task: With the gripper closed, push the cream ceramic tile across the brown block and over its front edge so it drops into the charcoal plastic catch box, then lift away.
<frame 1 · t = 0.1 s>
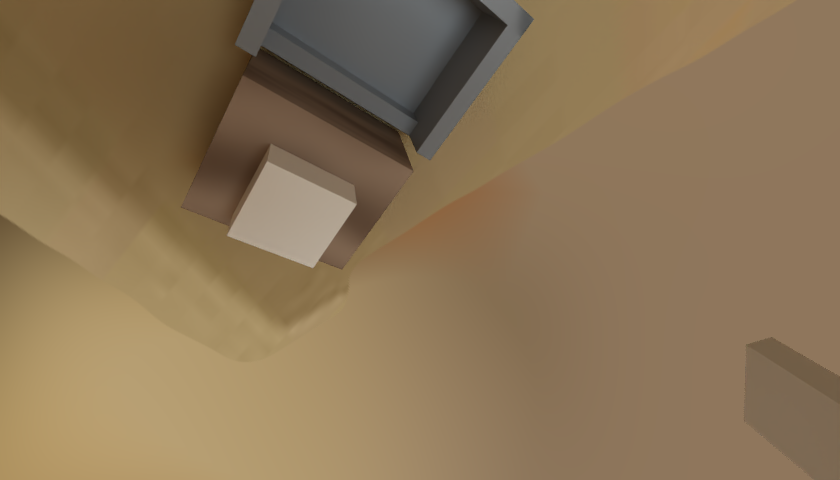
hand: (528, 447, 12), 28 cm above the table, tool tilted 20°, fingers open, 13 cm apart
brown block: (303, 146, 34), on the table
cream tile: (294, 199, 29), point 7 cm above the table, touching brown block
catch box: (379, 14, 30), on the table
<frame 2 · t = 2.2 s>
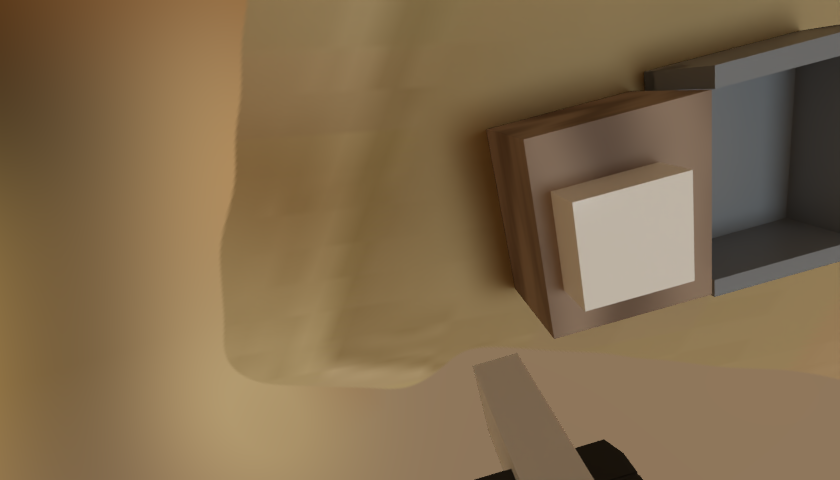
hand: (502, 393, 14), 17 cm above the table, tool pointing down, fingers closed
brown block: (569, 196, 30), on the table
cream tile: (609, 228, 23), point 7 cm above the table, touching brown block
catch box: (721, 154, 30), on the table
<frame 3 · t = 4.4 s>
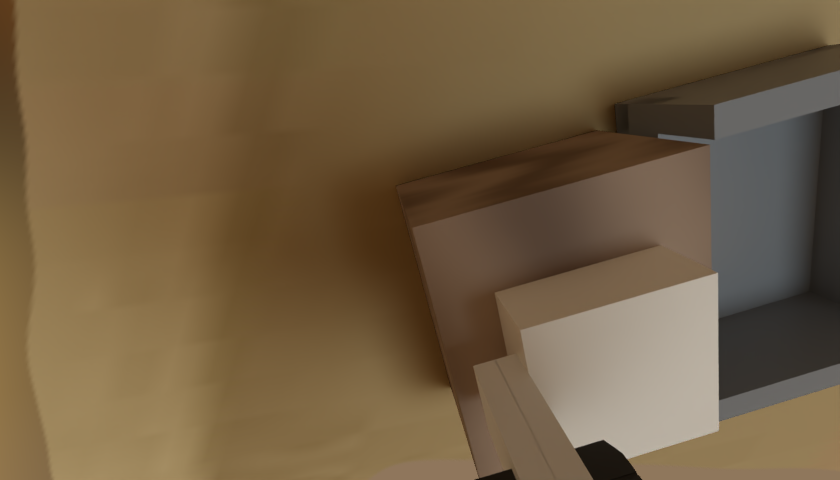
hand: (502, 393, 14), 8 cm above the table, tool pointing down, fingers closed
brown block: (518, 269, 22), on the table
cream tile: (587, 341, 15), point 7 cm above the table, touching gripper
catch box: (723, 211, 22), on the table
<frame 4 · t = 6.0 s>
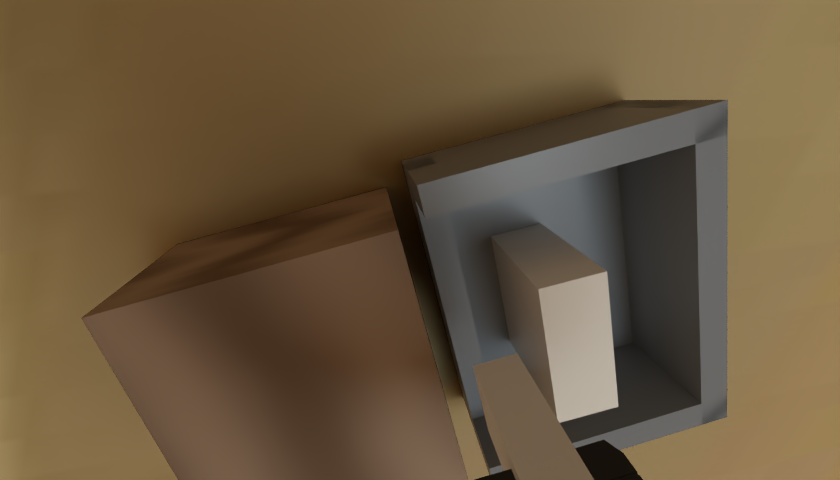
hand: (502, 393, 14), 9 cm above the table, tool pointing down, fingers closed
brown block: (323, 324, 22), on the table
cream tile: (521, 320, 18), point 4 cm above the table, tilted 89°, touching catch box
catch box: (536, 263, 22), on the table
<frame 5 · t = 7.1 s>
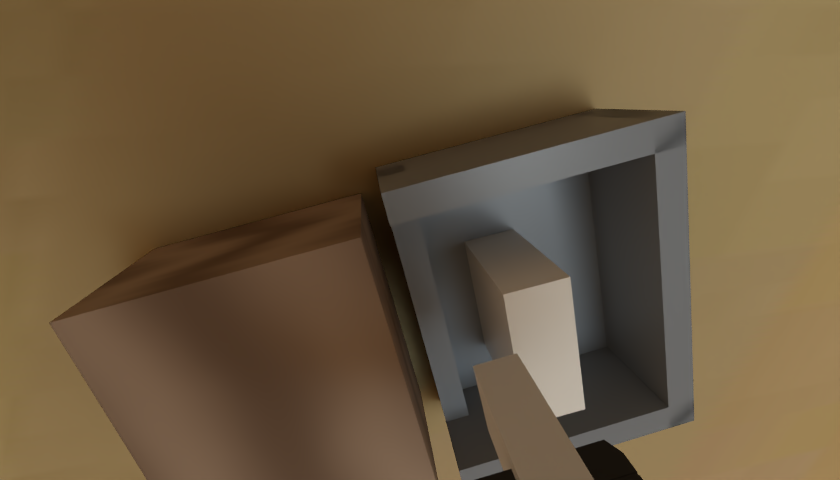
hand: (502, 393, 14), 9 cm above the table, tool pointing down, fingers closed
brown block: (300, 327, 22), on the table
cream tile: (492, 324, 19), point 4 cm above the table, tilted 90°, touching catch box
catch box: (511, 268, 22), on the table
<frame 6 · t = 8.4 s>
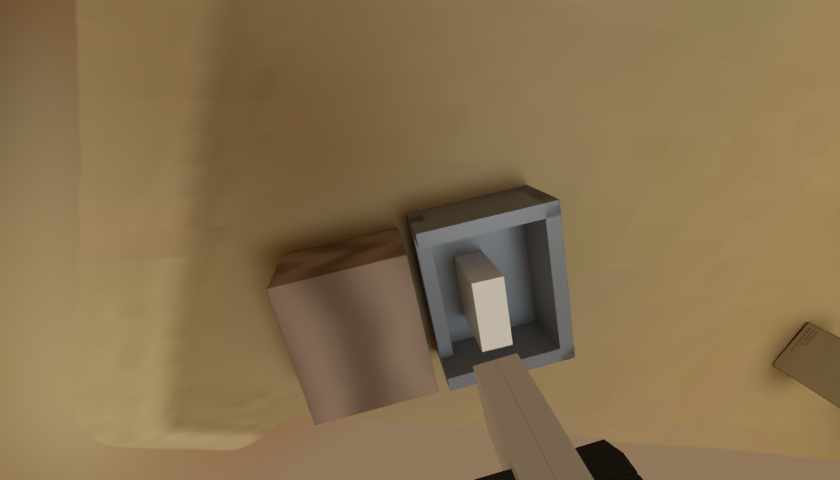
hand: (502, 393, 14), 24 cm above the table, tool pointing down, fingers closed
skincare box: (799, 349, 48), on the table
brown block: (358, 303, 38), on the table
cream tile: (467, 301, 35), point 4 cm above the table, tilted 90°, touching catch box
catch box: (480, 272, 39), on the table
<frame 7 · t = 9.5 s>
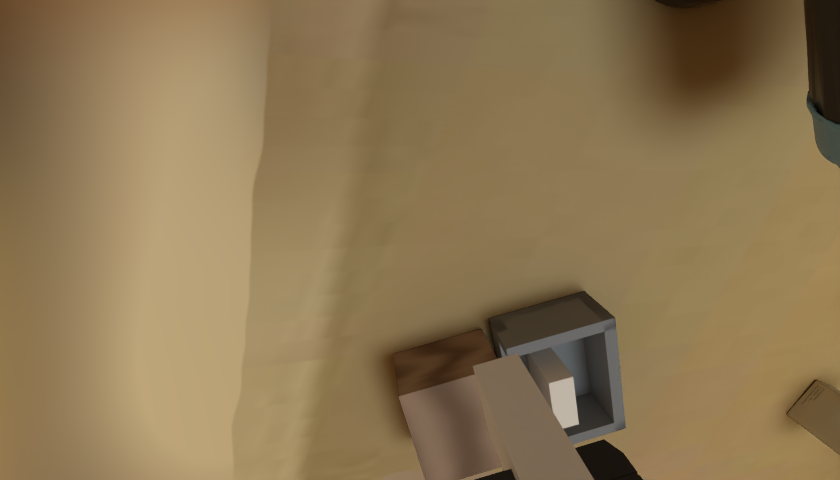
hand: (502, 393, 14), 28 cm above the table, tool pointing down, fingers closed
skincare box: (809, 401, 56), on the table
brown block: (449, 385, 48), on the table
cream tile: (540, 388, 45), point 4 cm above the table, tilted 90°, touching catch box
catch box: (545, 357, 48), on the table
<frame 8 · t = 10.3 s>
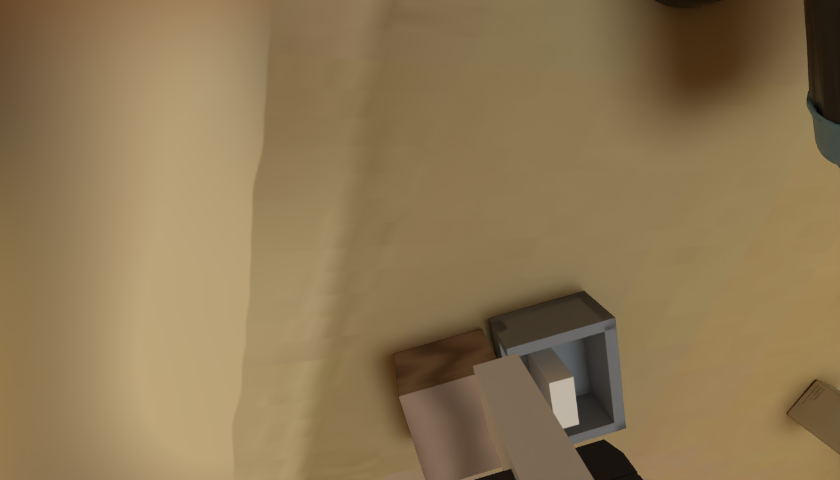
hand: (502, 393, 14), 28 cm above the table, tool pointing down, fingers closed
skincare box: (809, 401, 56), on the table
brown block: (449, 385, 48), on the table
cream tile: (540, 388, 45), point 4 cm above the table, tilted 90°, touching catch box
catch box: (545, 357, 48), on the table
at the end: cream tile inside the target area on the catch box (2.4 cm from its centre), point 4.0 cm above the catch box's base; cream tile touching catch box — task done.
